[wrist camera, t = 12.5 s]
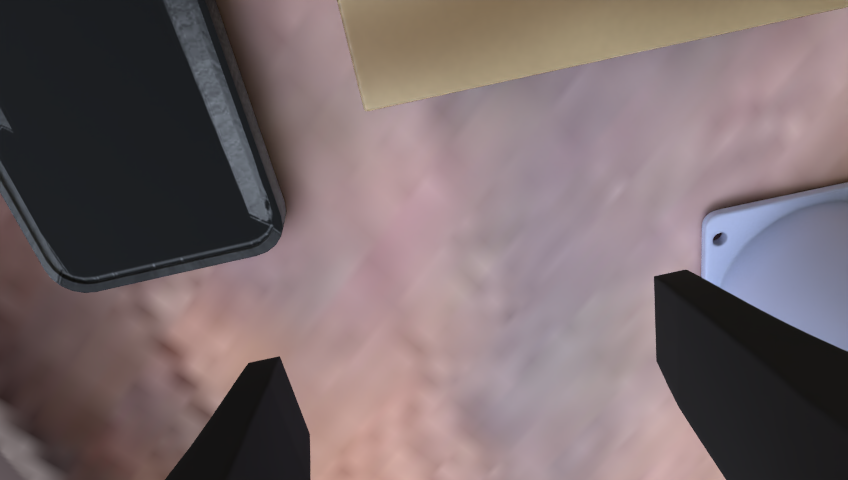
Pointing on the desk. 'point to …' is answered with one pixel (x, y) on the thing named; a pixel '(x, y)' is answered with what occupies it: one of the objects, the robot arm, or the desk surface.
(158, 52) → the phone
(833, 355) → the robot arm
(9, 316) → the desk surface
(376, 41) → the shelf
